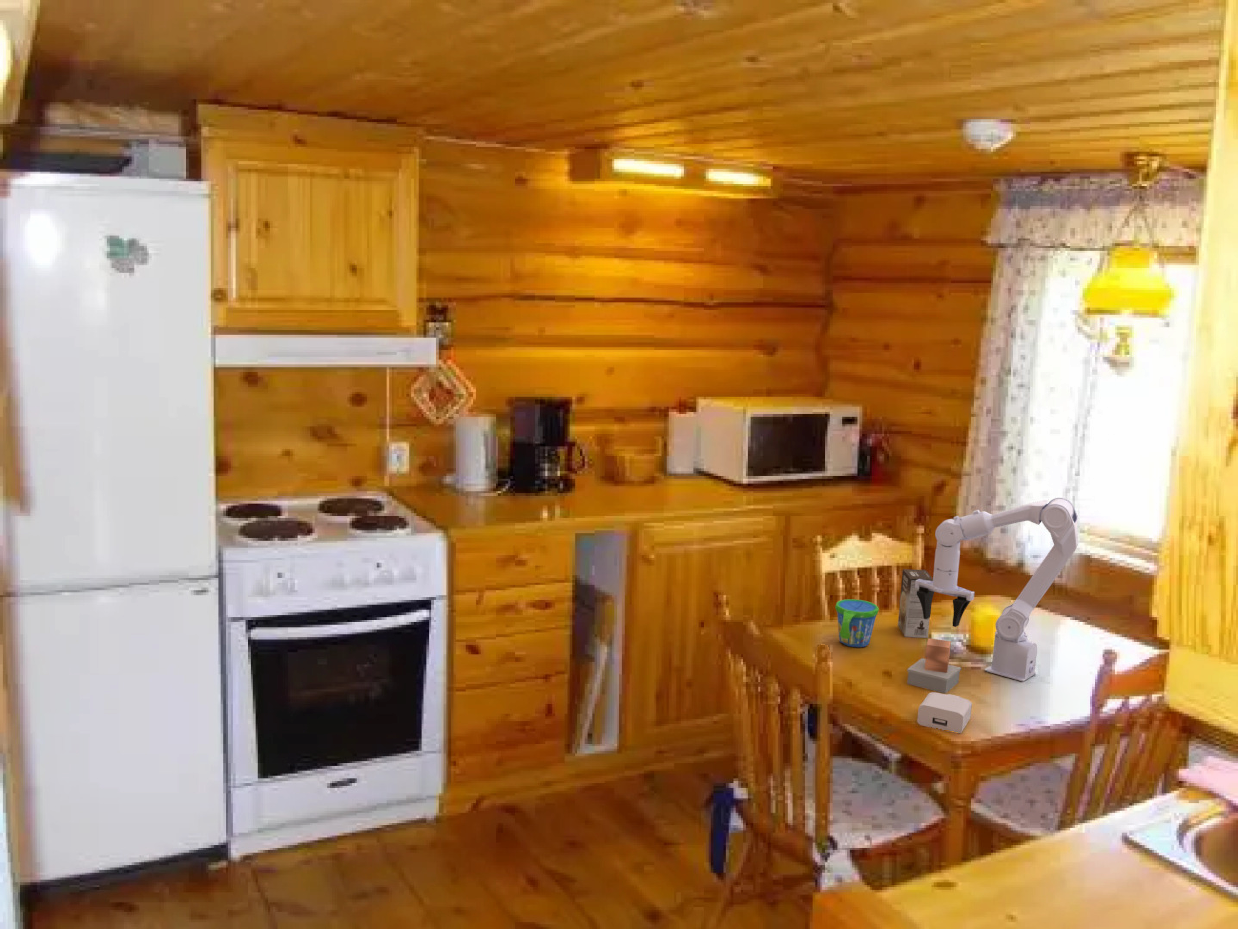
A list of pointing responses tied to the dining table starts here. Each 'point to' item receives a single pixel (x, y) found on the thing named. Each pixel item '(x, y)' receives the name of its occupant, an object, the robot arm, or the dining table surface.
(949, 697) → the charger
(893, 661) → the dining table surface
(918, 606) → the coffee box
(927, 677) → the slate box
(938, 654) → the terracotta block
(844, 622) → the snack cup
